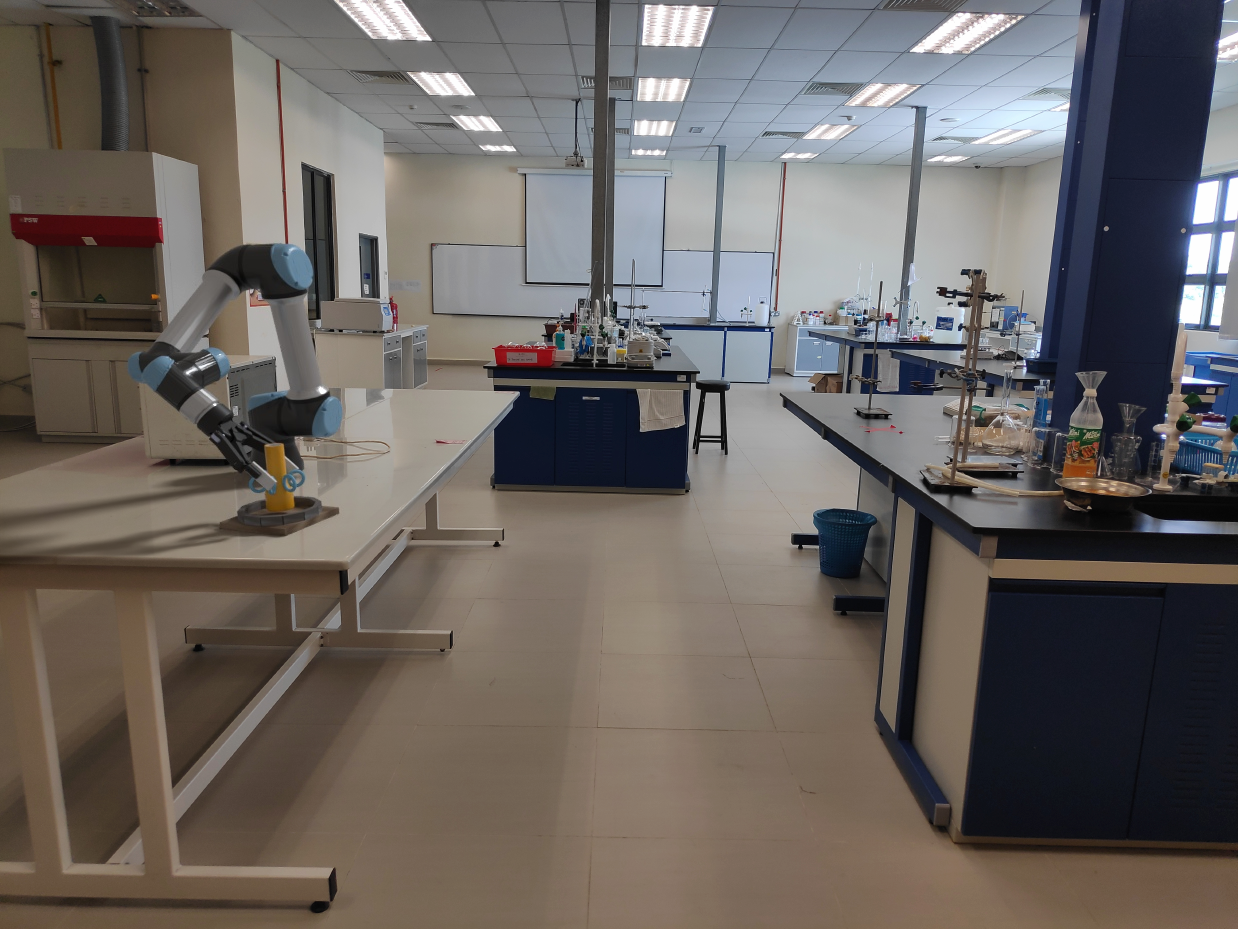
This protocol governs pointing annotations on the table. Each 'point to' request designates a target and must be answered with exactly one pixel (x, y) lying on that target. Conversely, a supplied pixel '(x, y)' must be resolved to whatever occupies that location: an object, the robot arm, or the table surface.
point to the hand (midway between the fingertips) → (284, 479)
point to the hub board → (279, 527)
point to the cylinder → (278, 480)
